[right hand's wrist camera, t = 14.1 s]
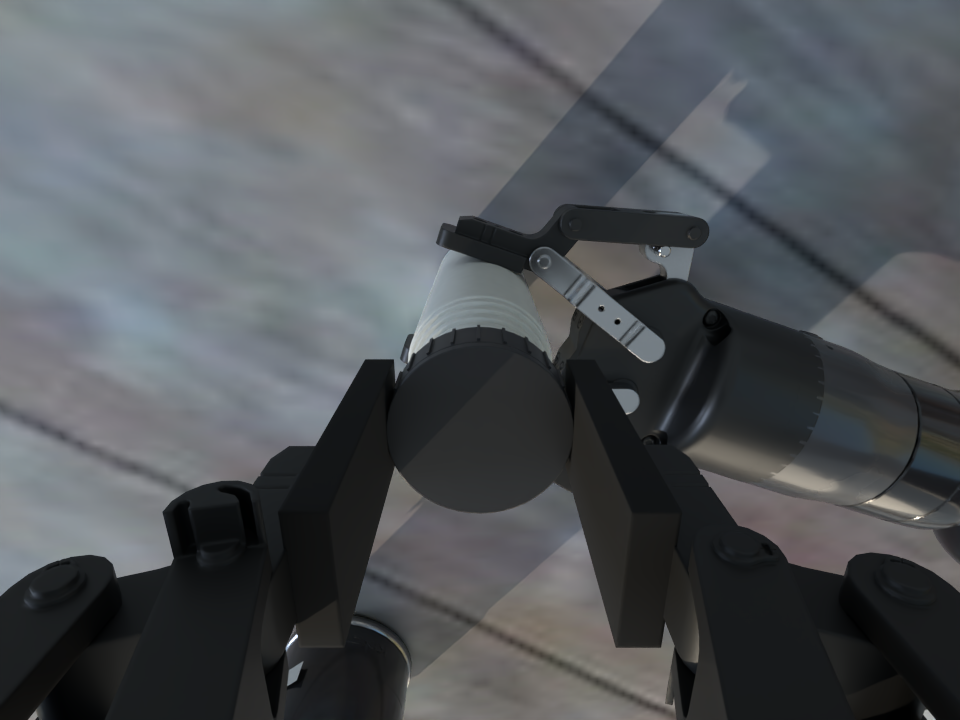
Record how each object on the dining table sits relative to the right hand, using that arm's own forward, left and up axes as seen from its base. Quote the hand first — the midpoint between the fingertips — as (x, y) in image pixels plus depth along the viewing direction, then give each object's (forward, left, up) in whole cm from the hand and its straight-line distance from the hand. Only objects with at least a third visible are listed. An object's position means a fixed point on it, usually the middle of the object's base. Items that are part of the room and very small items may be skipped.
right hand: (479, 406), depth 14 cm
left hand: (-1, -2, -10) cm, 10 cm away
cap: (0, 0, +1) cm, 1 cm away
